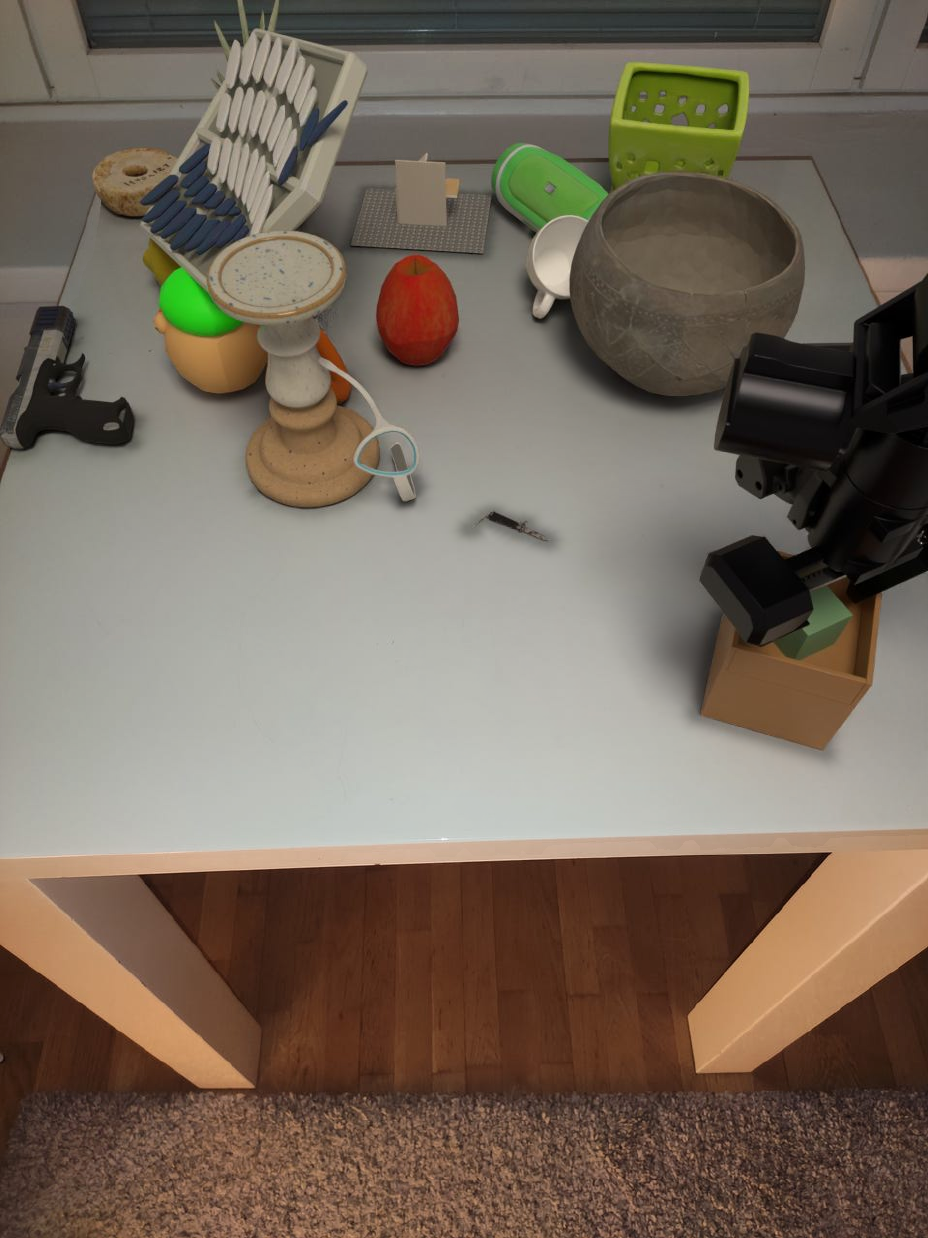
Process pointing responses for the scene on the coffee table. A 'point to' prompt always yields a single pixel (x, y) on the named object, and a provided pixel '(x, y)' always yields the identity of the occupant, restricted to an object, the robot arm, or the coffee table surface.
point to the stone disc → (130, 178)
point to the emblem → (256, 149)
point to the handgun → (37, 380)
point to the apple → (417, 311)
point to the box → (794, 678)
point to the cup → (553, 260)
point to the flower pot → (670, 145)
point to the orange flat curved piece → (330, 353)
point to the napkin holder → (423, 212)
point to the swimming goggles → (403, 471)
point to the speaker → (543, 186)
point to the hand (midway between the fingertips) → (805, 619)
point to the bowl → (684, 278)
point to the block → (817, 626)
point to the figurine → (206, 338)
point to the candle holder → (294, 366)
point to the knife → (512, 524)
